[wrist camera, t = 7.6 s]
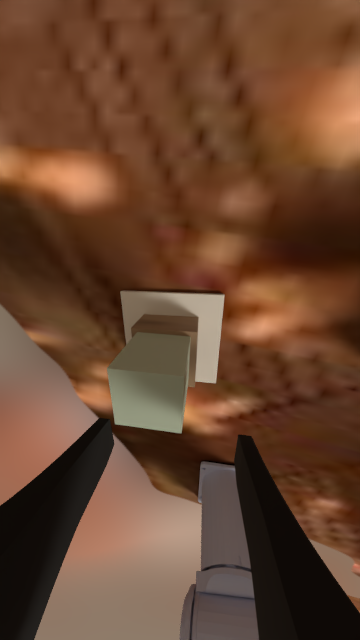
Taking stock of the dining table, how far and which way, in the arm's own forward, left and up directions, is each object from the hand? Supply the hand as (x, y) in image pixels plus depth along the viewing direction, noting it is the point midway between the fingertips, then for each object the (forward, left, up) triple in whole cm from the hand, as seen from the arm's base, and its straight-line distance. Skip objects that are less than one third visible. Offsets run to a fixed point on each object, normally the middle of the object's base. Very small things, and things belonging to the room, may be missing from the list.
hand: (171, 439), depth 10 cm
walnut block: (+1, +2, -10) cm, 10 cm away
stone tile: (+1, +2, -10) cm, 10 cm away
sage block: (+1, +2, -6) cm, 7 cm away
